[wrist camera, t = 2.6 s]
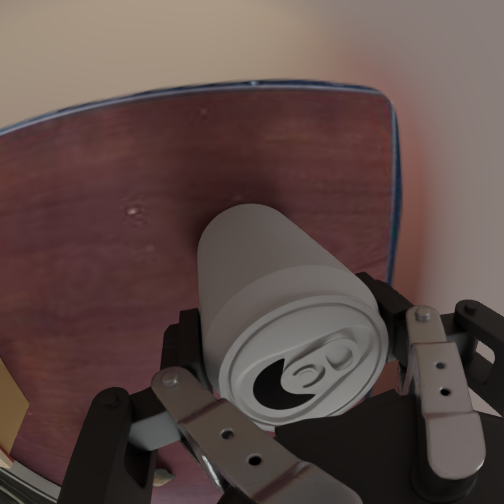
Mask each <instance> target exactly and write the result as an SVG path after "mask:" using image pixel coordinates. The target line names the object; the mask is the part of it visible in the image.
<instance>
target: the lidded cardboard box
mask: <svg viewBox="0 0 504 504" xmlns="http://www.w3.org/2000/svg"><path fill="white" fill-rule="evenodd" d="M29 405H30V404H29V402H28V401H27V399H26V398H25V396H24V395H23V393H22V392H21V390H20V389H19V387H18V386H17V384H16V383H15V381H14V379H13V378H12V376H11V375H10V373H9V371H8V370H7V368H6V366H5V365H4V363H3V361H2V359H1V358H0V467H4V468H9V469H11V467H12V464H13V463H14V461H15V460H14V459H13V458H12V457H11V456H10V455H9V453H10V450H11V448H12V445H13V443H14V440H15V437H16V435H17V433H18V430H19V428H20V425H21V423H22V421H23V418H24V416H25V414H26V412H27V409H28V407H29Z"/></svg>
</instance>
